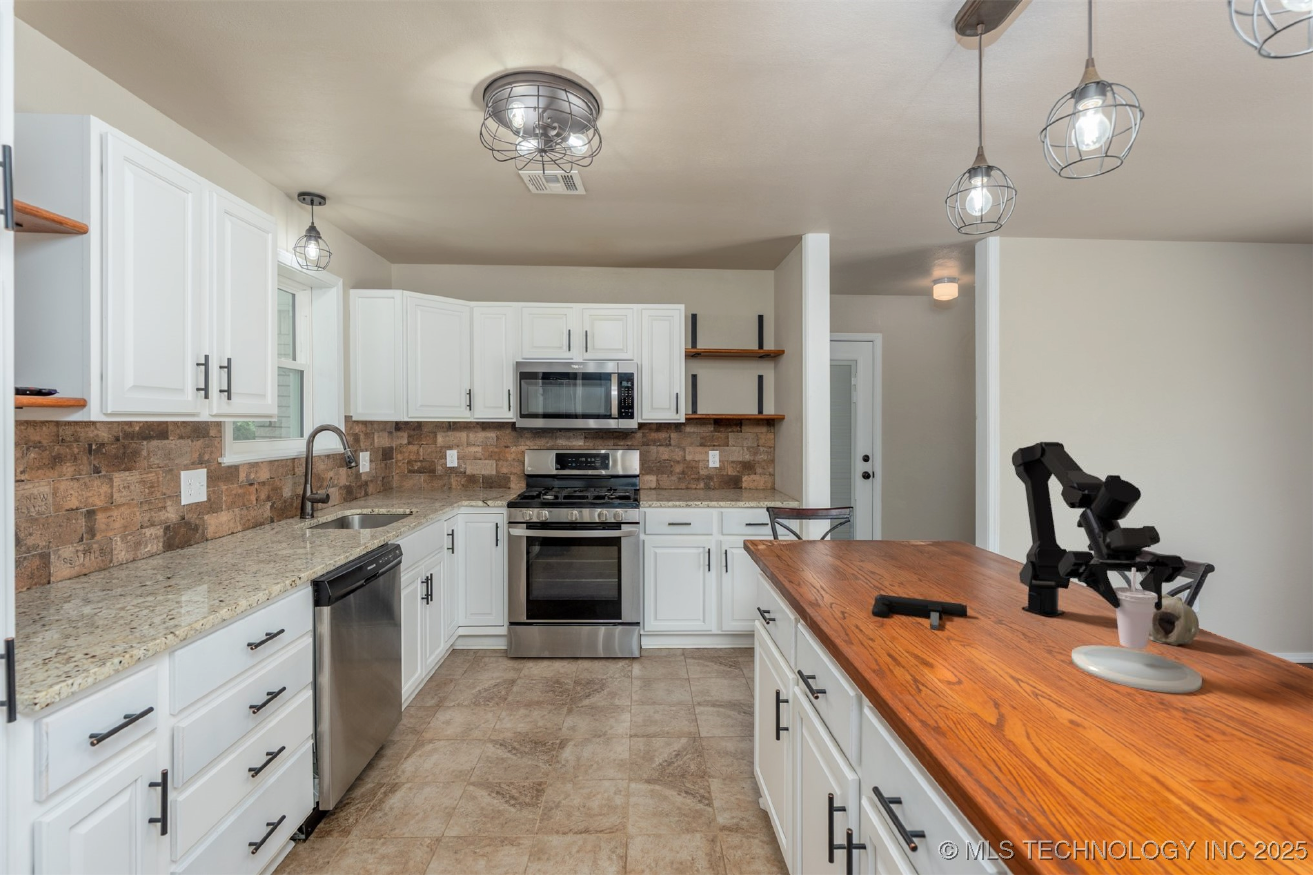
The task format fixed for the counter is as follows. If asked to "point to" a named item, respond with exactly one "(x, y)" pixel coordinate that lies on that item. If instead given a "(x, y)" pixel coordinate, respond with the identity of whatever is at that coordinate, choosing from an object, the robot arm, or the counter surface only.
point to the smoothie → (1134, 614)
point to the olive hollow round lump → (1174, 622)
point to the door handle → (916, 608)
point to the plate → (1137, 669)
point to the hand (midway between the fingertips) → (1138, 608)
